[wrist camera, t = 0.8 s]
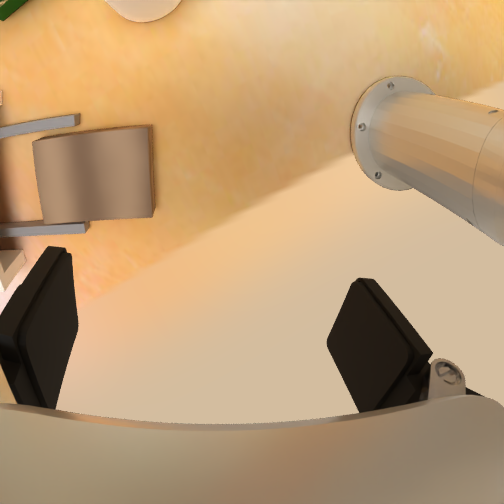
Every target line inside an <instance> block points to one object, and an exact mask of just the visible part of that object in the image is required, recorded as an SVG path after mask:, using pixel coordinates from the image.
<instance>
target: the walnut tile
mask: <svg viewBox="0 0 504 504" xmlns="http://www.w3.org/2000/svg"><path fill="white" fill-rule="evenodd" d="M32 146H33V155H34V164H35V172H36V179H37V186H38V192H39V198H40V204H41V209H42V215H43V220H44V224H54V223H68V222H82V221H97V220H114V219H132V218H152V217H153V213H154V210H155V194H154V176H153V153H152V125H139V126H126V127H115V128H106V129H97V130H88V131H80V132H73V133H66V134H60V135H53V136H47V137H43V138H40V139H38V140H35V141H33V142H32Z"/></svg>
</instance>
